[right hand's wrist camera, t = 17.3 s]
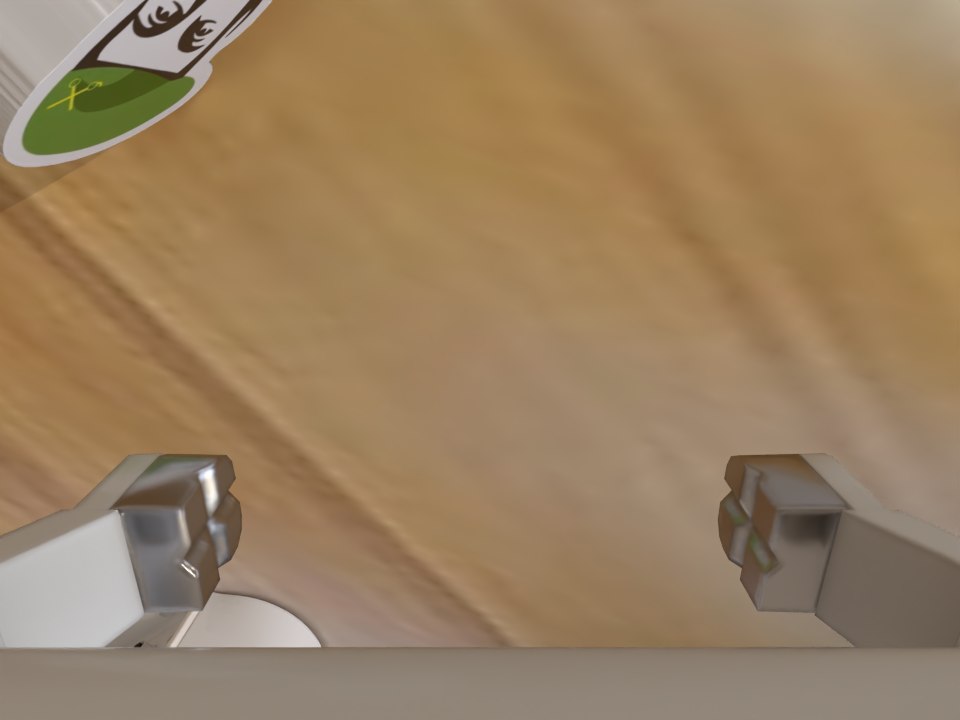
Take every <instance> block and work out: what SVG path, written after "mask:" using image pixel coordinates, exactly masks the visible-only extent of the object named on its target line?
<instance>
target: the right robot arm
mask: <svg viewBox="0 0 960 720" xmlns="http://www.w3.org/2000/svg"><path fill="white" fill-rule="evenodd" d="M235 479H236V478H235V473H234V468H233V464H232V461H231V459H230V458H229V457H228V456H227V455H203V454H163V453H151V454H133V455H128V456H127V457H126V458H125V459H124V460H123V461H122V462H121V463H120V464H119V465H118V466H117V467H116V468H115V469H114V470H113V471H111V472H110V473H109V474H108V475H107V476H106V477H105V478H104V479H103V480H102V481H101V482H100V483H99V484H98V485H97V486H96V487H95V488H94V489H93V490H92V491H91V492H90V493H89V494H88V495H87V496H86V497H85V498H84V499H83V500H81V501H80V502H79V503H78V504H77V505H76V506H75V507H74V508H73V509H72V510H60V511H58V512H55V513H53V514H51V515H48V516H46V517H44V518H41V519H39V520H37V521H34V522H32V523H30V524H27V525H25V526H23V527H20V528H18V529H16V530H13V531H11V532H9V533H6V534H4V535H2V536H0V720H960V536H958V535H956V534H954V533H951V532H949V531H947V530H944V529H942V528H940V527H937V526H935V525H933V524H930V523H928V522H926V521H923V520H921V519H919V518H916V517H914V516H912V515H909V514H907V513H905V512H902V511H900V510H888V509H887V508H886V507H885V506H884V505H883V504H882V503H881V502H880V501H879V500H878V499H877V498H875V497H874V496H873V495H872V494H871V493H870V492H869V491H868V490H867V489H866V488H865V487H864V486H863V485H862V484H861V483H860V482H859V481H858V480H857V479H856V478H855V477H854V476H853V475H852V474H851V473H850V472H849V471H848V470H847V469H846V468H845V467H843V466H842V465H841V464H840V463H839V462H838V461H837V460H836V459H835V458H834V457H833V456H831V455H828V454H826V453H814V454H778V455H738V456H731V457H730V460H729V462H728V464H727V467H726V472H725V478H724V479H725V481H726V482H727V484H728V485H729V487H730V488H731V490H732V491H731V492H730V493H729V494H728V495H727V496H726V497H725V498H724V499H723V500H722V501H721V502H720V508H719V515H718V526H719V537H720V540H721V543H722V547H723V549H724V551H725V553H726V555H727V557H728V559H729V560H730V561H732V562H733V563H735V564H736V565H738V566H739V567H741V568H742V571H741V577H740V581H741V582H742V584H743V586H744V588H745V589H746V591H747V593H748V595H749V597H750V598H751V600H752V602H753V604H754V605H755V607H756V609H757V611H771V612H807V613H815V616H817V617H818V618H819V619H820V620H822V621H823V622H824V623H826V624H827V625H828V626H830V627H831V628H832V629H833V630H835V631H836V632H837V633H839V634H840V635H841V636H843V637H844V638H845V639H846V640H848V641H849V642H850V643H852V644H853V645H854V646H855V647H321V645H320V643H319V641H318V640H317V638H316V637H315V635H314V634H313V633H312V632H311V630H310V629H309V628H308V627H307V626H306V625H305V624H304V623H303V622H301V621H300V620H299V619H298V618H296V617H295V616H294V615H292V614H291V613H289V612H287V611H286V610H284V609H282V608H280V607H278V606H276V605H273V604H271V603H268V602H266V601H263V600H259V599H255V598H251V597H246V596H240V595H229V594H220V593H215V592H213V591H214V589H215V588H216V586H217V584H218V582H219V581H220V577H219V571H218V568H219V567H221V566H222V565H224V564H225V563H227V562H228V561H230V560H231V559H232V557H233V555H234V553H235V551H236V549H237V547H238V543H239V539H240V535H241V530H242V513H241V507H240V502H239V501H238V500H237V499H236V498H235V497H234V496H233V495H232V494H231V493H230V492H229V491H228V490H229V488H230V487H231V485H232V484H233V482H234V481H235Z"/></svg>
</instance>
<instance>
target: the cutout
mask: <svg viewBox="0 0 960 720" xmlns="http://www.w3.org/2000/svg"><path fill="white" fill-rule="evenodd" d="M271 2H272V0H0V155H1V156H2V157H3V158H4V159H5V160H6V161H9V162H10V163H11V164H13V165H16V166H22V167H40V166H49V165H54V164H59V163H63V162H68V161H71V160H76V159H79V158H82V157H85V156H88V155H91V154H95V153H96V152H99V151H101V150H104V149H107V148H109V147H111V146H113V145H116V144H118V143H119V142H122V141H124V140H126V139H128V138H130V137H132V136H133V135H136V134H137V133H139V132H141V131H143V130H144V129H146V128H148V127H149V126H151V125H153V124H154V123H156V122H158V121H159V120H161V119H162V118H165V117H166V116H167V115H169V114H170V113H172V112H173V111H175V110H176V109H178V108H179V107H180V106H182V105H183V104H184V103H185V102H187V101H188V100H189V99H190V98H191V97H192V96H194V95H195V94H196V93H197V92H198V91H199V89H200V88H201V87H202V86H203V85H204V84H205V83H206V81H207V80H208V78H209V77H210V75H211V72H212V71H213V67H212V66H213V65H212V64H211V62H210V60H211V59H212V58H213V57H214V56H215V55H216V54H217V53H218V52H219V51H220V50H221V49H223V48H224V47H225V46H227V45H228V44H229V43H231V42H232V41H233V40H234V39H235V38H237V37H238V36H239V35H240V34H241V33H242V32H243V31H244V30H245V29H246V28H247V27H249V26H250V25H251V24H252V23H253V22H254V21H255V20H256V18H257V17H258V16H259V15H260V14H261V13H262V12H263V11H264V10H265V9H266V8H267V6H268V5H269V4H270V3H271Z"/></svg>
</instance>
